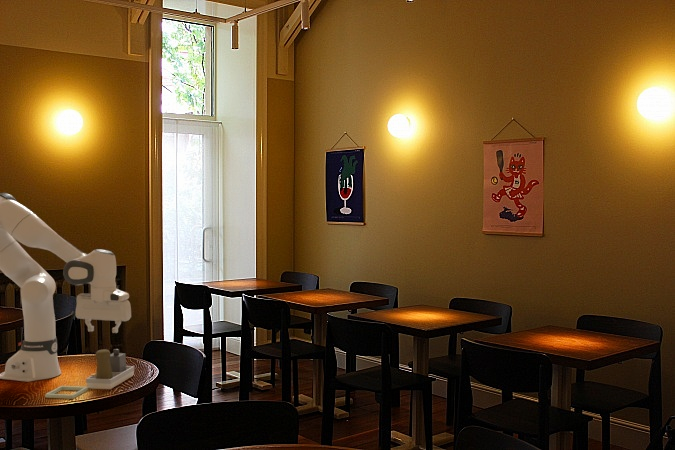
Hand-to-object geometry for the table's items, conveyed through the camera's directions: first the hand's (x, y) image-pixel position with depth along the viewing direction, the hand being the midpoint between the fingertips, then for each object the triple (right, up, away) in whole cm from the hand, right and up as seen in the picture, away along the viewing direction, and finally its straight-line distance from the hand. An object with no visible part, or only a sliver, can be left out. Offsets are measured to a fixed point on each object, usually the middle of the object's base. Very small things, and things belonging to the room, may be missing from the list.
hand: (102, 331), depth 262 cm
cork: (+1, -18, 0) cm, 18 cm away
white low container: (+1, -19, +6) cm, 20 cm away
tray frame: (-9, -20, -10) cm, 24 cm away
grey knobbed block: (+2, -17, +10) cm, 20 cm away
